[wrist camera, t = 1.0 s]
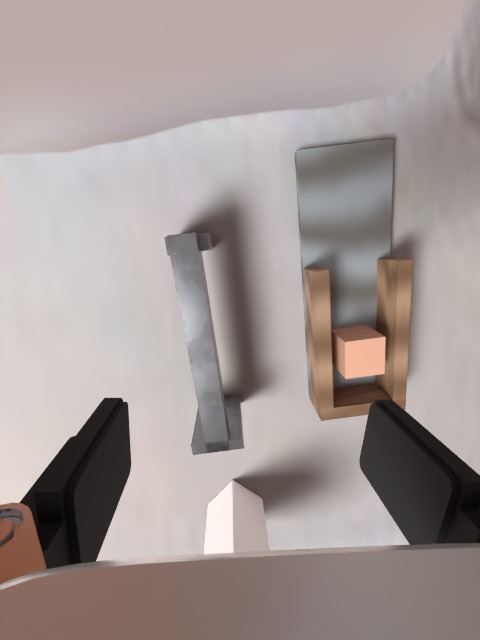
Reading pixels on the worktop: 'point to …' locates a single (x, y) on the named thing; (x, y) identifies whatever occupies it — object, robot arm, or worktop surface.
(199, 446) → the grey long bar
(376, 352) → the cube
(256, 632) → the robot arm
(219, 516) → the milk
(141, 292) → the worktop surface
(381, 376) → the cubby
